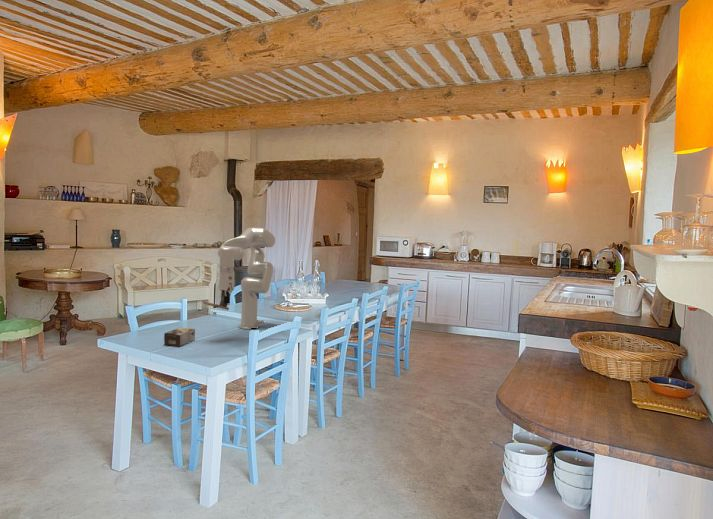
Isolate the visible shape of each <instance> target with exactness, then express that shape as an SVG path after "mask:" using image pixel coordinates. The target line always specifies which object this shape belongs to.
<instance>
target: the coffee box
mask: <svg viewBox="0 0 713 519" xmlns="http://www.w3.org/2000/svg"><path fill="white" fill-rule="evenodd" d="M163 335H164V336H163V342H164V343H163V344H164V346H169V345H170V347H182V346H185V345H186V344H188V343H191V342H192V341H195V339H196V329H195V328H190V327H183V326H182V327H177V328H175V329H172V330H169V331H167V332H165V333H164V334H163Z"/></svg>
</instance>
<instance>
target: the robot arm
mask: <svg viewBox="0 0 713 519" xmlns="http://www.w3.org/2000/svg"><path fill="white" fill-rule="evenodd" d="M275 243H276V237H275V236H274V234H273V233H272V232H271V231H269V230H268V229H267V228H264V227H251V226H250V227H247V228H246V229H245V230H244V231H243V232H242V233H241V234H240V235H239V236H237V237H234V238H231V239H227V240H226V241H225V242H223V243H222V244H221V245H220V247H219V248H218V250H217V255H218V257H219V270H218V271H219V276H218V277H219V279H218V289H219V290H220V299H221V298H222V295H223V292H224V291H225V296H224V303H225V304H226V303H228V304H230V303H231V295H230V294H232V293H233V291H234V290H235V276H234V269H235V268H234V267H235V261H241V260H242V259H243V258H244V256H245V251H244V250H247V249H250V258H249V262H248V265H247V274H248V275H249V276H245V277H243V278H242V280H241V282H240V288H241V318H240V320H241V321H240V324H238V329H241V328H242V330H252V329H251V328H257V327H259V328H260V325H261V324H265V323H264V320H260V319H258V303H259V302H258V300H259V299H258V296H257V295H256V294H267V293H268V292H269V290H270V286H271V281H272V279H273V274H274V265H273V264H272V262H269V261H264V260H265V255H266V254H265V253H264V251H263V249H262V248H273V247H274V245H275ZM228 289H229V290H228ZM227 290H228V291H227ZM257 329H258V328H257Z"/></svg>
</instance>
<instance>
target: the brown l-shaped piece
mask: <svg viewBox="0 0 713 519" xmlns="http://www.w3.org/2000/svg"><path fill="white" fill-rule="evenodd" d="M228 290H229V289H228ZM228 290H227V291H228ZM231 294H232V293H231ZM231 294H230V296H231ZM224 296H225V291H224V292H223V295H222V298H221V297H220V301H219V304H217V303H211V302H208V301H203V304H204V305H207V306H211V307H215V308H219V309H222V310H223V309H224V310H226V311H228V310H229V309H230V308H229V307H228V304H229V303H226V304H225V303H224Z"/></svg>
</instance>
